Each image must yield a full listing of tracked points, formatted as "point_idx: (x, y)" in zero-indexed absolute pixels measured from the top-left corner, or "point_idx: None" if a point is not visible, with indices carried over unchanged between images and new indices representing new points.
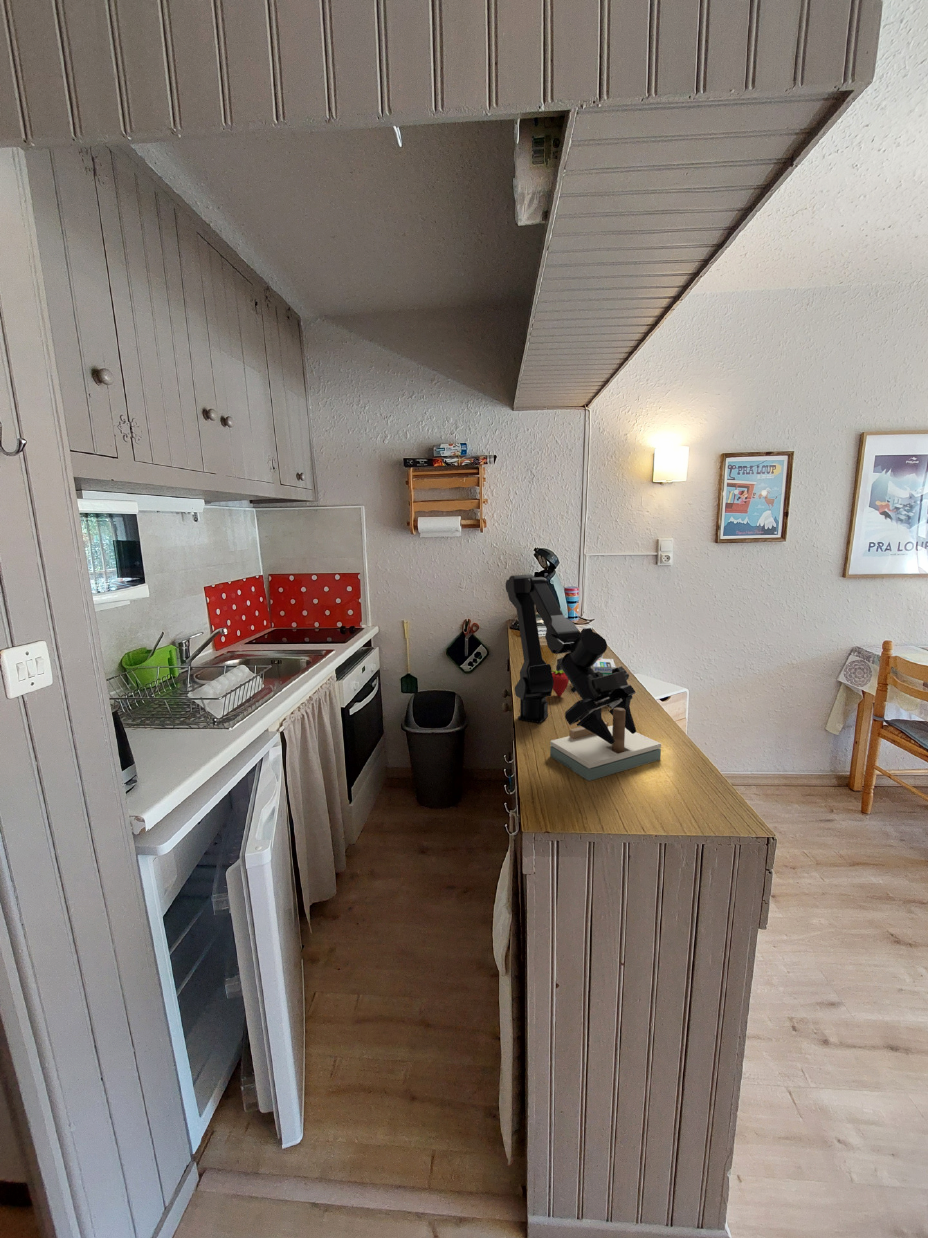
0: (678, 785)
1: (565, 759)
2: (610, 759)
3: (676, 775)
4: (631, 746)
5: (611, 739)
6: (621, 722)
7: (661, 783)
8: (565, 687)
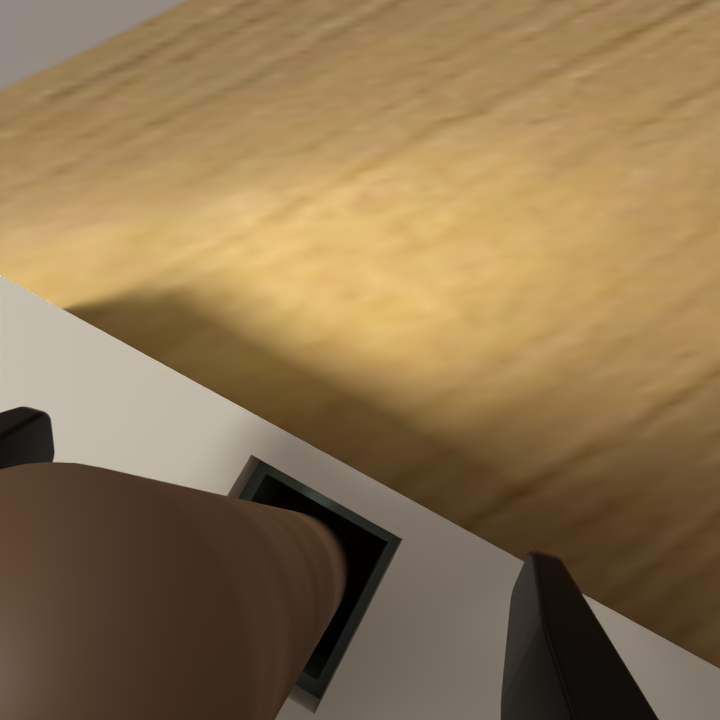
0: (382, 132)
1: None
2: None
3: (250, 170)
4: (153, 471)
5: (576, 597)
6: (270, 533)
7: (415, 217)
8: None
